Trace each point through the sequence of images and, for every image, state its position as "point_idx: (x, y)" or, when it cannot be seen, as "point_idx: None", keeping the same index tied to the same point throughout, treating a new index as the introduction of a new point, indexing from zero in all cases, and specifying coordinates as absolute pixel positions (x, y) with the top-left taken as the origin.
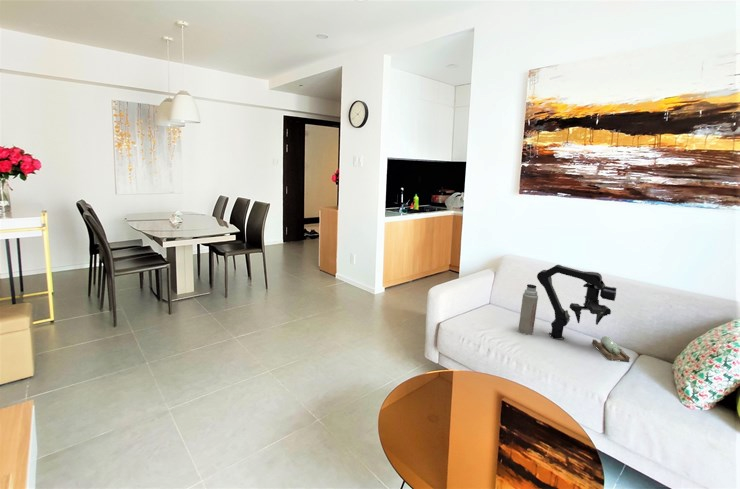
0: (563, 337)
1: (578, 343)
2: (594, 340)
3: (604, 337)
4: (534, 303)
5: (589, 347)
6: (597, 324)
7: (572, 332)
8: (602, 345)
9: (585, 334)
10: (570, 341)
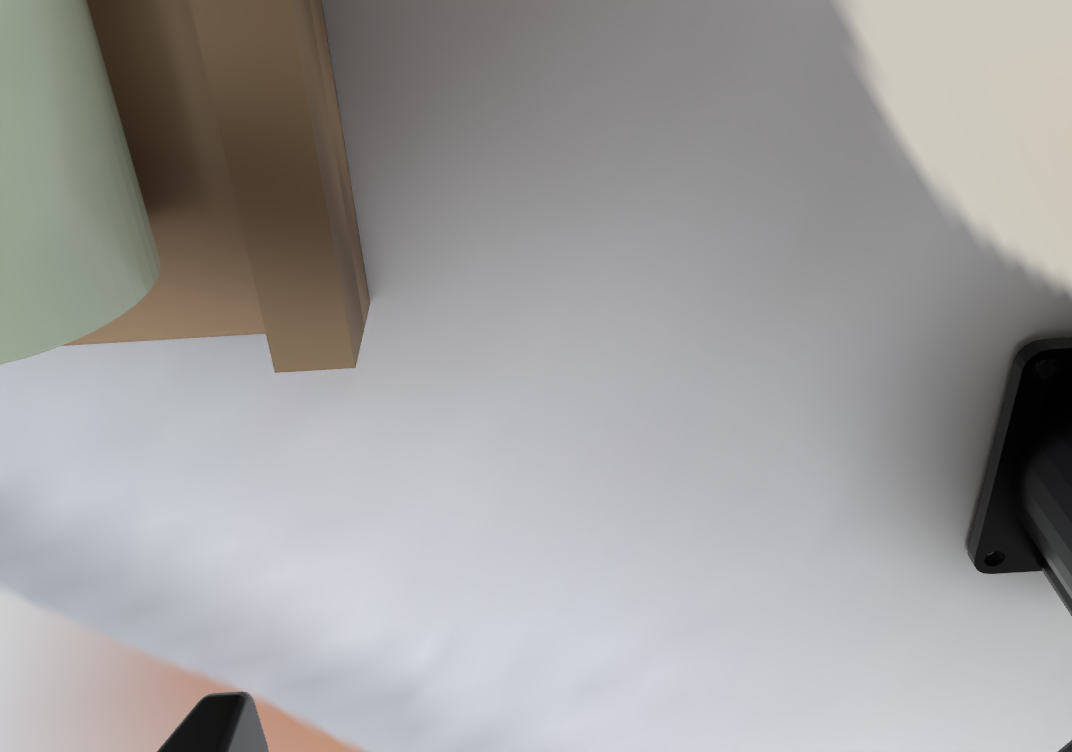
0: (1017, 405)
1: (737, 212)
2: (324, 306)
3: (6, 301)
4: None
5: (518, 28)
6: (198, 705)
7: (629, 706)
8: None
9: (384, 693)
10: (904, 274)
